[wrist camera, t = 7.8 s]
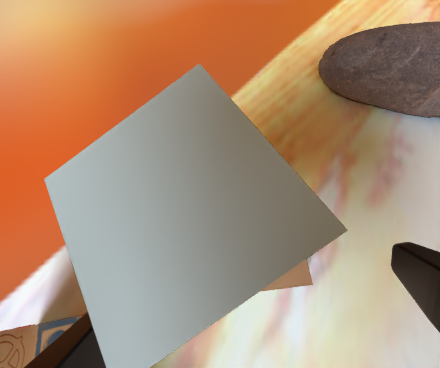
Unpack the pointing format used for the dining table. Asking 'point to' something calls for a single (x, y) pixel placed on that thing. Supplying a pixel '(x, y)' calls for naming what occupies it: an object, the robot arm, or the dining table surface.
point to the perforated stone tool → (388, 68)
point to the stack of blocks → (30, 341)
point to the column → (181, 220)
